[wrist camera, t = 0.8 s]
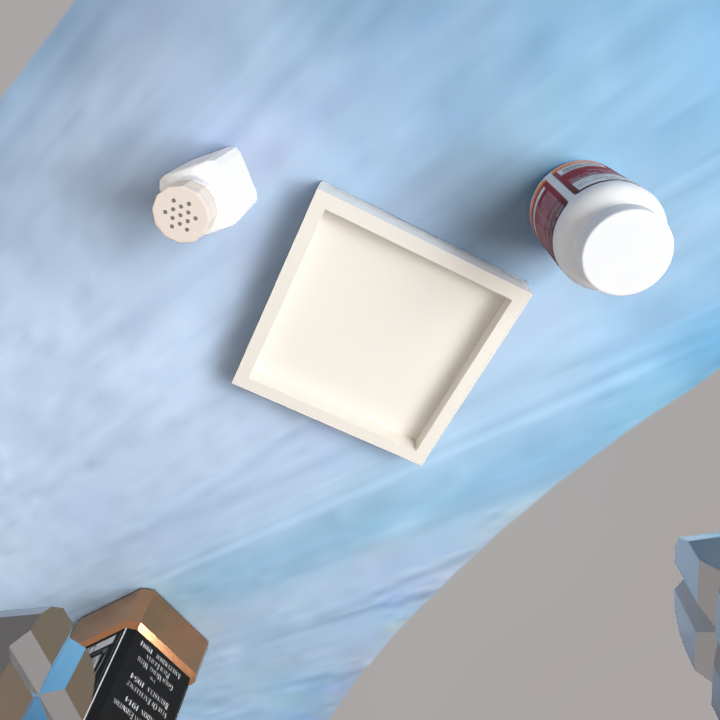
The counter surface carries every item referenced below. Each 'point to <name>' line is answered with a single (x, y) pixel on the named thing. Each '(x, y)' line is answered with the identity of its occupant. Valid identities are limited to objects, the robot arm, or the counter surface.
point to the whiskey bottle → (140, 658)
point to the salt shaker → (203, 196)
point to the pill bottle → (601, 228)
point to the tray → (378, 326)
